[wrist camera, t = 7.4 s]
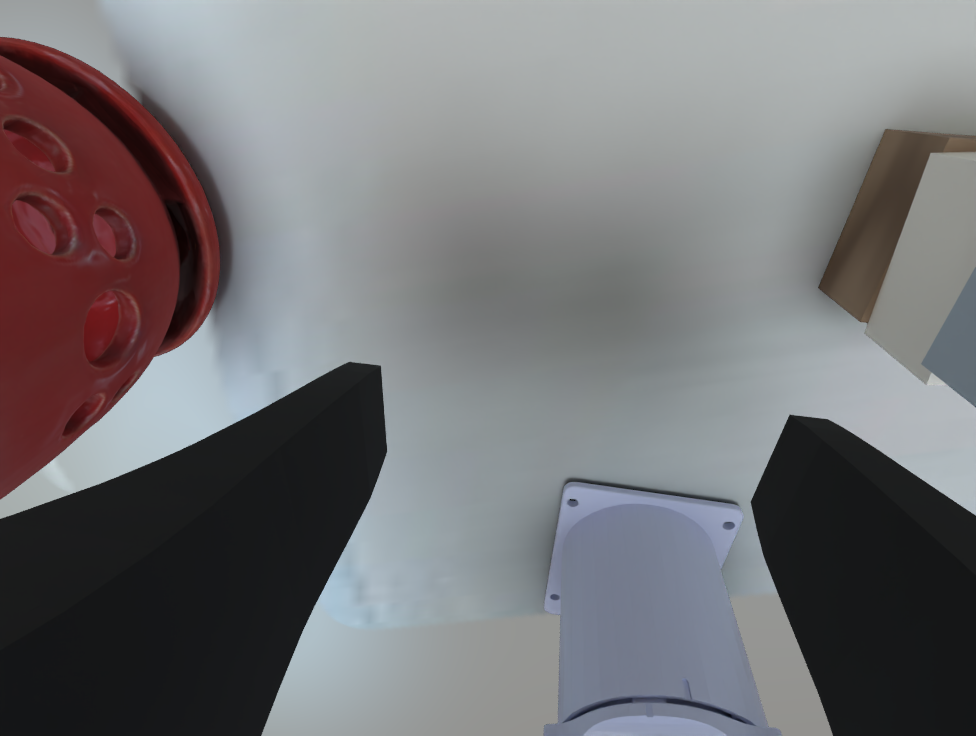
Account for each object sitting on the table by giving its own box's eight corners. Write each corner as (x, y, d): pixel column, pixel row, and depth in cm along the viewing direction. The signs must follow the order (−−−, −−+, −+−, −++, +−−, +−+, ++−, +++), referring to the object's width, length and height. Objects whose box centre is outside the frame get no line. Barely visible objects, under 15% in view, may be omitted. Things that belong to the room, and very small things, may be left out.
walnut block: (971, 303, 17) (1043, 342, 14) (817, 286, 17) (859, 321, 15) (1068, 143, 14) (1178, 155, 12) (883, 129, 15) (949, 137, 12)
